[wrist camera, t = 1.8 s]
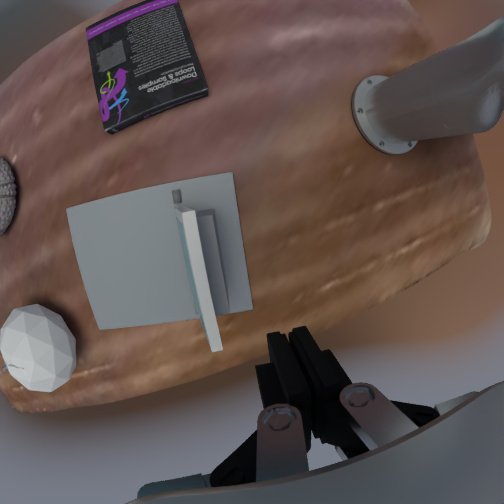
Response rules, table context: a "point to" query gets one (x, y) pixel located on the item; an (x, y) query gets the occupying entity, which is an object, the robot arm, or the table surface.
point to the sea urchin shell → (6, 195)
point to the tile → (197, 274)
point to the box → (143, 63)
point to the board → (159, 252)
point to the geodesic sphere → (38, 348)
